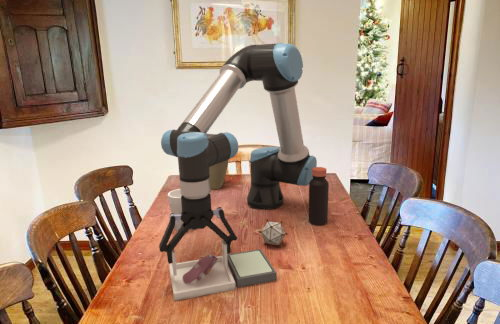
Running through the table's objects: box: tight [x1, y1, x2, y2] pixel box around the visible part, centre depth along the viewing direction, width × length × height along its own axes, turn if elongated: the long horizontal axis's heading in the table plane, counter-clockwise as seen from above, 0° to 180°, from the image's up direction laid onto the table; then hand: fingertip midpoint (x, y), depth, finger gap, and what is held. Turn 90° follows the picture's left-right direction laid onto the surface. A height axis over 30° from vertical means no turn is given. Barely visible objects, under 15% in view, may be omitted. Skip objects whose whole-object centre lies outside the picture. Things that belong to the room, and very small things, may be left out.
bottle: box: [308, 166, 330, 226], centre depth 134 cm, size 7×7×20 cm
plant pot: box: [209, 160, 229, 190], centre depth 175 cm, size 15×15×16 cm
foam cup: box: [167, 188, 191, 232], centre depth 132 cm, size 10×9×13 cm
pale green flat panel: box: [230, 251, 273, 278], centre depth 105 cm, size 9×12×1 cm
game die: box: [258, 218, 288, 248], centre depth 120 cm, size 9×8×10 cm
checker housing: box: [227, 248, 277, 289], centre depth 105 cm, size 11×14×2 cm
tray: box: [168, 255, 237, 302], centre depth 102 cm, size 16×15×2 cm
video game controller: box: [183, 253, 218, 283], centre depth 101 cm, size 10×5×7 cm, turn 150°
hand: (200, 268), depth 101 cm, fingers open, 13 cm apart
